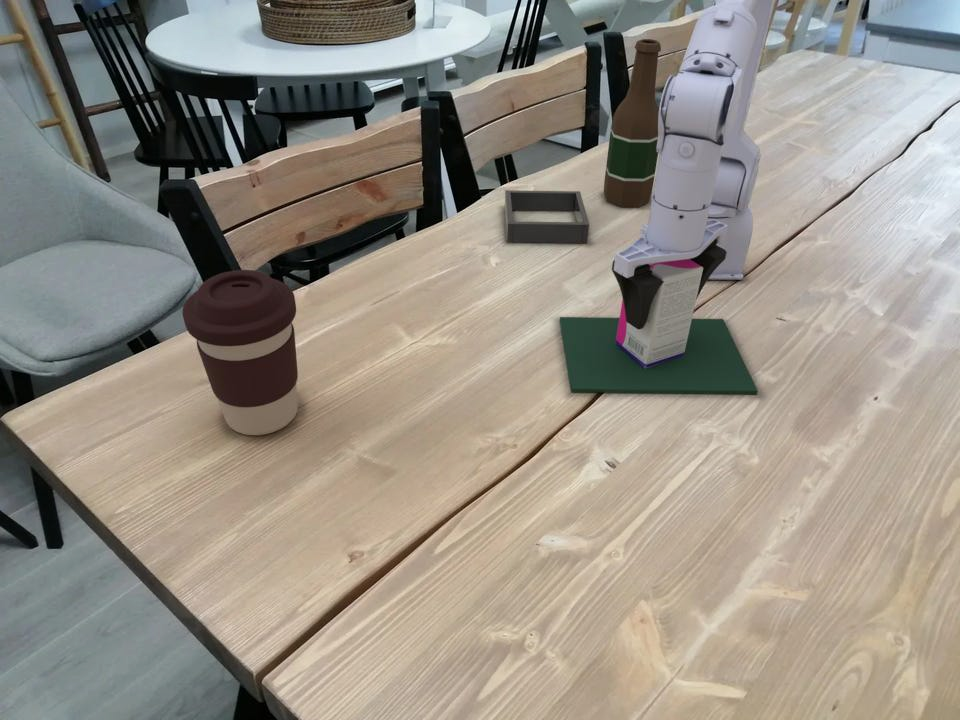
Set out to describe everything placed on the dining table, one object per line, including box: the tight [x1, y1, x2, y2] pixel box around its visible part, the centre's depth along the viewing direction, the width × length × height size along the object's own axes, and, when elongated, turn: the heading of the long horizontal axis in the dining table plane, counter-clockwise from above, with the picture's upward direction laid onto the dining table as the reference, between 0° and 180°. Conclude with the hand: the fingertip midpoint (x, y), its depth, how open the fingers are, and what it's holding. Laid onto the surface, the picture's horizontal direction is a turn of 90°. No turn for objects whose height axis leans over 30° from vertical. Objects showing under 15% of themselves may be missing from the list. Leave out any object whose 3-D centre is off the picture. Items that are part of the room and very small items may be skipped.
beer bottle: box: [603, 38, 662, 208], centre depth 112 cm, size 8×8×24 cm
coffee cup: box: [181, 269, 299, 436], centre depth 71 cm, size 10×10×15 cm
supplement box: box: [615, 259, 703, 369], centre depth 81 cm, size 6×6×12 cm
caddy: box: [504, 189, 590, 244], centre depth 110 cm, size 12×12×3 cm
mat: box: [559, 316, 759, 395], centre depth 85 cm, size 20×14×1 cm
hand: (659, 314), depth 81 cm, fingers open, 7 cm apart
